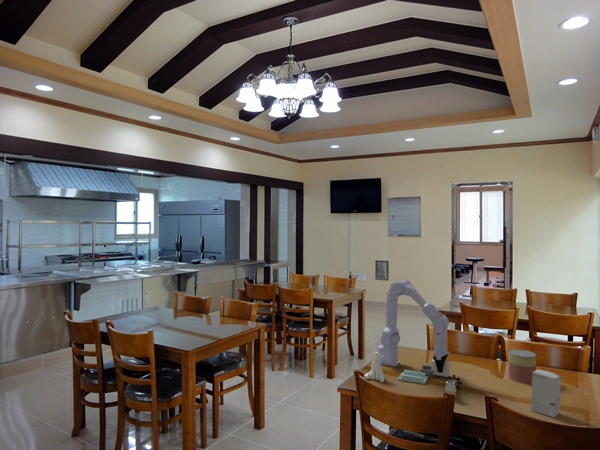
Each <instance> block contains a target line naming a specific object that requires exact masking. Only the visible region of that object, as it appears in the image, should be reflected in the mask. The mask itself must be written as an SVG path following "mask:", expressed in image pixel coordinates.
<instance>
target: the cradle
mask: <svg viewBox="0 0 600 450" xmlns="http://www.w3.org/2000/svg"><path fill="white" fill-rule="evenodd" d="M397 378H398V379H397V380H398V381H403V382H409V383H415V384H420V385H426V383H427V382H428V380H429V377H427V376H426V373H423V372H420V371H416V370H415V371H414V370H408V369H404V370H403V372H401V374H399V377H397Z"/></svg>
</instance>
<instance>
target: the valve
mask: <svg viewBox="0 0 600 450" xmlns="http://www.w3.org/2000/svg"><path fill="white" fill-rule="evenodd" d="M452 379H453V380H452ZM460 380H461V377H459V376H458V377H456V374H453V375H452V376H451V375H450V376H448V377H447V379H446V380H445V391H444V392H445V393H446V392H452V393H455V394H456V392H457V390H461V386H462V385H463V382H462V381H460ZM456 388H457V389H456Z"/></svg>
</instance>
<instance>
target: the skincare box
mask: <svg viewBox="0 0 600 450" xmlns="http://www.w3.org/2000/svg"><path fill="white" fill-rule="evenodd" d="M561 382H562V376H561V375H560V374H557V373H554V372H550V371H548V370H547V371H546V370H544V369H543V370H541V369H539V368H538V369H536V371H534V372H533V380H532V384H531V405H530V409H531V411H533V412H537V413H538V414H543V415H545V416H549V417H551V418H555V417H557V416H558V415H559V414H560V413H561V412H560V411H561V409H560V408H561V384H562V383H561Z"/></svg>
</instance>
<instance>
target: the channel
mask: <svg viewBox="0 0 600 450" xmlns="http://www.w3.org/2000/svg"><path fill="white" fill-rule="evenodd" d="M419 372H423V373H426V376H427V377H428V378H430V379H434V375H433V371H431V365H425V364H423V365H422V367H421V368H420V369H419Z"/></svg>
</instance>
